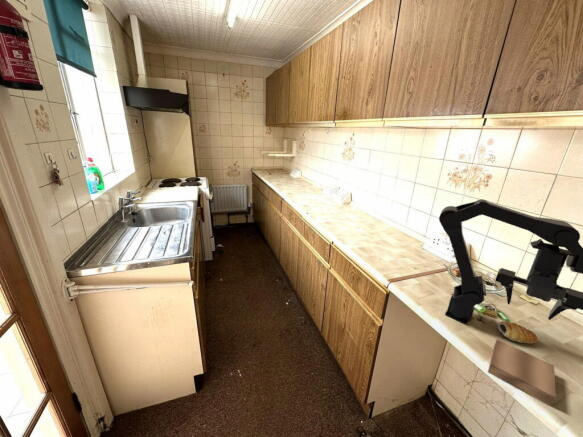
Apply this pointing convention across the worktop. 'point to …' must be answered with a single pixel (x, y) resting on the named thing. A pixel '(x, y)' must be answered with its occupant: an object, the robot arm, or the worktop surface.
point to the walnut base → (523, 371)
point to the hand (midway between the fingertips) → (527, 311)
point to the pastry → (517, 332)
